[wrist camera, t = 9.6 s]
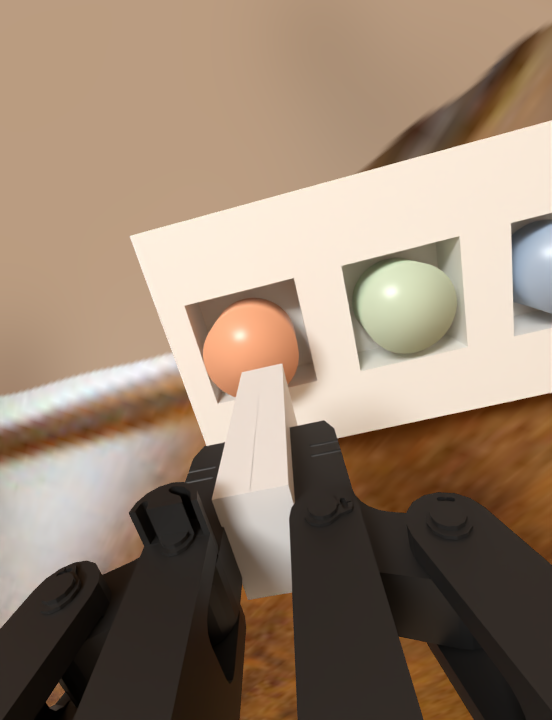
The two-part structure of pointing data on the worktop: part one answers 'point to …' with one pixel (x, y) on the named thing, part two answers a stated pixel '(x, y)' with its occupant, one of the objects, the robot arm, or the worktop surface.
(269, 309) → the terracotta button
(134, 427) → the worktop surface
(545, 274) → the blue button
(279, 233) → the button panel
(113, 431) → the worktop surface
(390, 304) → the green button
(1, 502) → the worktop surface
